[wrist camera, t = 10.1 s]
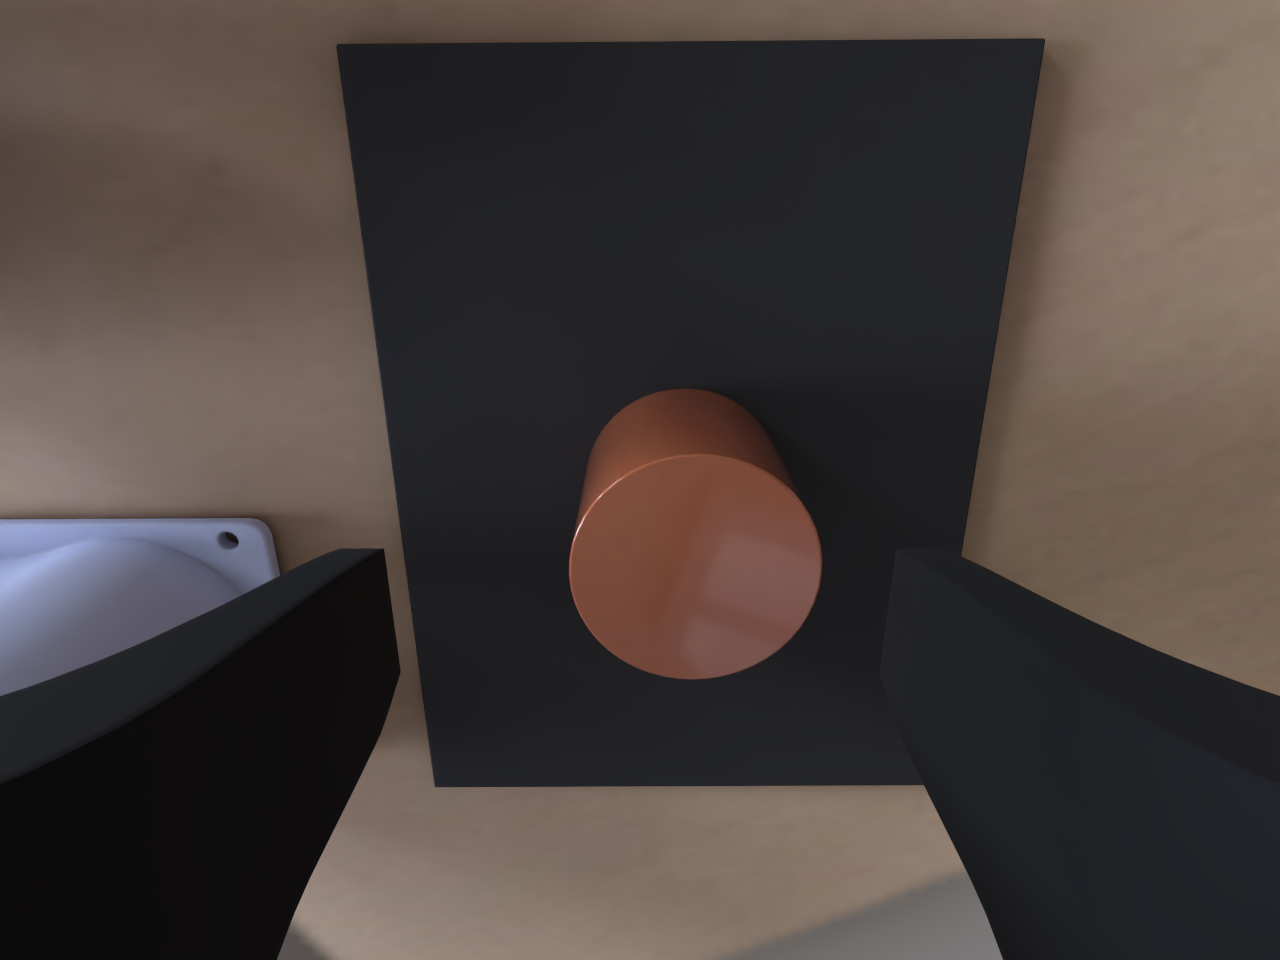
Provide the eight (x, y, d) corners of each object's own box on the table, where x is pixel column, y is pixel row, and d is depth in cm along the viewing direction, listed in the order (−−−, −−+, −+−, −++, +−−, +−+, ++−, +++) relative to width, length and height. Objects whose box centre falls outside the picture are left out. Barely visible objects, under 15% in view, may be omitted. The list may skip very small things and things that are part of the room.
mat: (437, 778, 24) (434, 787, 23) (342, 46, 16) (335, 43, 16) (919, 776, 23) (924, 785, 23) (1037, 41, 16) (1046, 38, 16)
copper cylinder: (589, 568, 20) (573, 681, 16) (582, 388, 19) (563, 455, 14) (773, 568, 20) (813, 680, 16) (785, 387, 19) (833, 453, 14)
